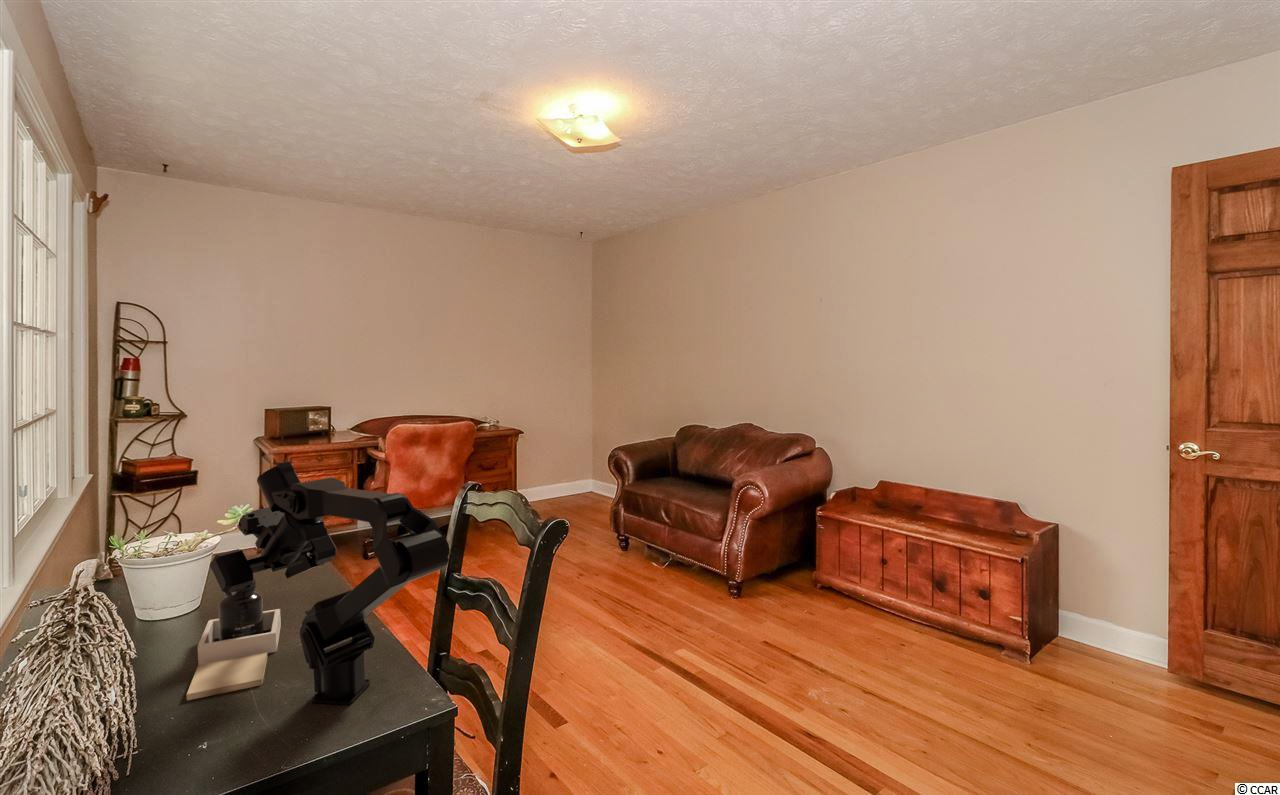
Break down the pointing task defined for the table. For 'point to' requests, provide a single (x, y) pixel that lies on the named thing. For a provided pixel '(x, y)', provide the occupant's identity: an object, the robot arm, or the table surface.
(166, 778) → the table surface
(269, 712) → the table surface
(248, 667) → the birch pad
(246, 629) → the supplement bottle
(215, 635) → the white open box
